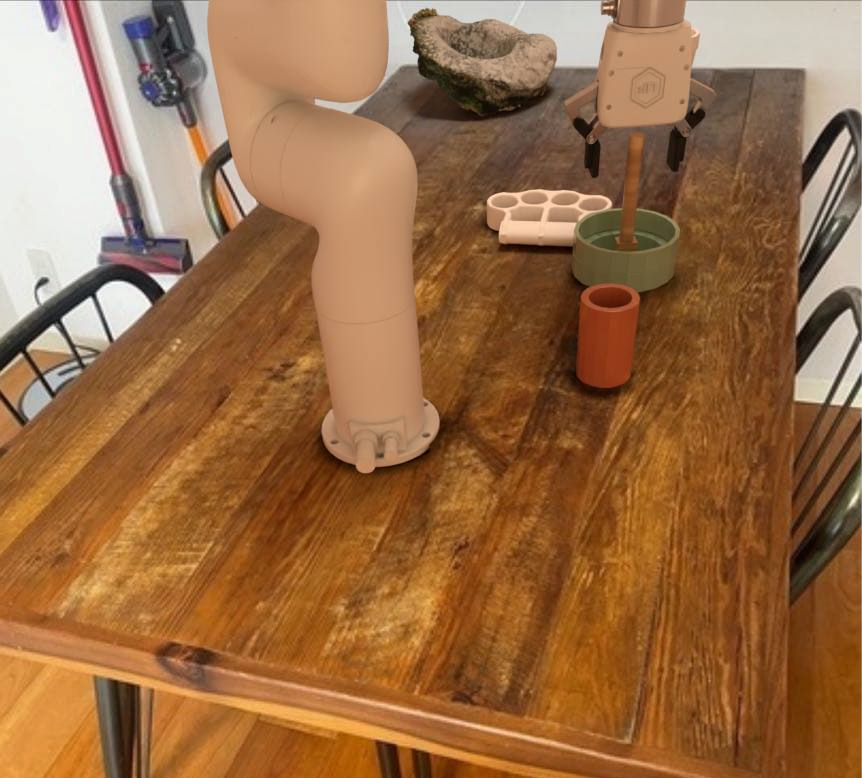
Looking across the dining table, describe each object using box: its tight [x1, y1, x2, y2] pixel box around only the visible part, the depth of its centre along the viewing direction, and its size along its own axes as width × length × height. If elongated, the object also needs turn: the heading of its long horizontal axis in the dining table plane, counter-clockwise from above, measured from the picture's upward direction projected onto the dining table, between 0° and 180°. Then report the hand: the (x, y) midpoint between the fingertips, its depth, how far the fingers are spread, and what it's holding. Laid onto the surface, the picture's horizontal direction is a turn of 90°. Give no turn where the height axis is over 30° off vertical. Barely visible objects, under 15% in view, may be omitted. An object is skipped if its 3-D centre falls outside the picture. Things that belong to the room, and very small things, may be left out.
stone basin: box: [407, 6, 558, 117], centre depth 164 cm, size 29×30×15 cm
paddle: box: [614, 131, 646, 252], centre depth 107 cm, size 2×3×17 cm
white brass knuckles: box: [486, 188, 613, 248], centre depth 123 cm, size 3×18×15 cm
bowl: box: [571, 207, 681, 293], centre depth 111 cm, size 13×13×6 cm
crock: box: [575, 283, 641, 389], centre depth 93 cm, size 6×6×10 cm
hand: (632, 170), depth 104 cm, fingers open, 9 cm apart
